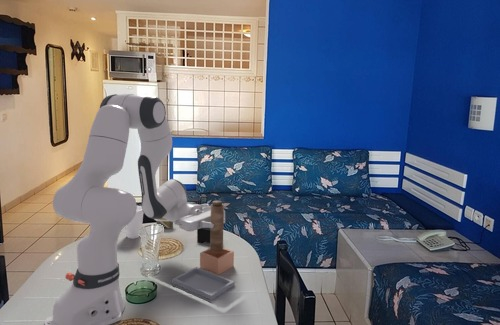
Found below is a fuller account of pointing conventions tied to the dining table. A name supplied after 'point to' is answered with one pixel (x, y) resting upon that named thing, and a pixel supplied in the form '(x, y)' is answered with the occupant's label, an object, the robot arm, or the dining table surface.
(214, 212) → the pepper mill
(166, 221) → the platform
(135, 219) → the foam cup
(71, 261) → the dining table surface
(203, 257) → the orange open box
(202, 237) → the digital camera
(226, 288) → the tray
